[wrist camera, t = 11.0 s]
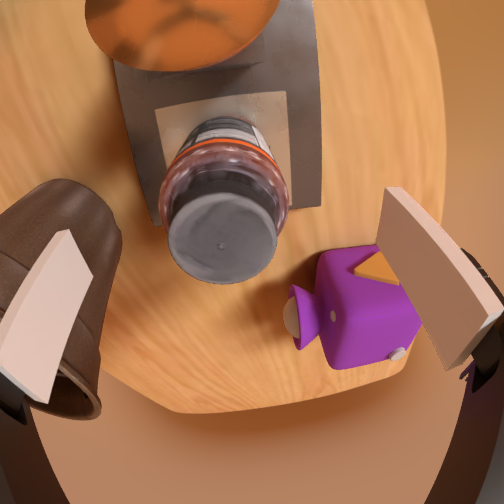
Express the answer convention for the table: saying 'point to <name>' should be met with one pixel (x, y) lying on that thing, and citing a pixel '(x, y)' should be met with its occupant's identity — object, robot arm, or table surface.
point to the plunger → (176, 30)
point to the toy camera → (353, 309)
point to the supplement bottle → (223, 202)
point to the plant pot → (96, 298)
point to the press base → (235, 105)
